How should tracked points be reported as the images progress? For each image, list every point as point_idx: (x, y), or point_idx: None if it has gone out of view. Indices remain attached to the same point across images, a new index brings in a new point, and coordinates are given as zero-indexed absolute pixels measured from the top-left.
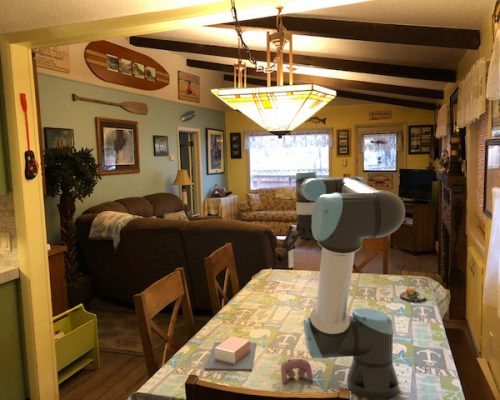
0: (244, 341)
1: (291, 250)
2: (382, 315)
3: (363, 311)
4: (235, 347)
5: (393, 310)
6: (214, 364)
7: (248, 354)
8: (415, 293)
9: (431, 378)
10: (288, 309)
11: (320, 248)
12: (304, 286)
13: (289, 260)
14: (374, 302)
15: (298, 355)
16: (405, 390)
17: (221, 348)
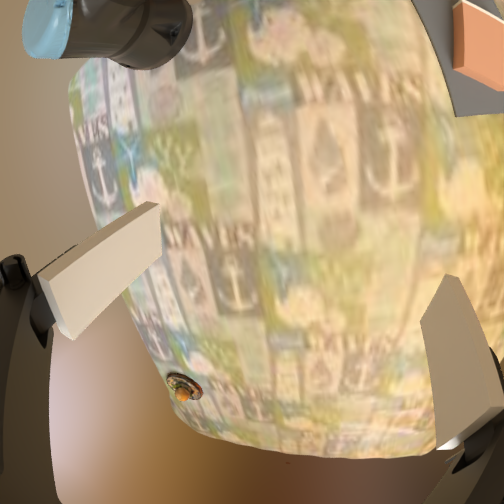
0: (472, 57)
1: (463, 433)
2: (26, 29)
3: (46, 4)
4: (474, 23)
5: (195, 349)
6: (483, 4)
7: (448, 49)
8: (176, 388)
9: (89, 106)
10: (404, 337)
11: (11, 335)
12: (369, 423)
13: (472, 321)
14: (233, 377)
15: (331, 75)
16: None
17: (496, 19)
